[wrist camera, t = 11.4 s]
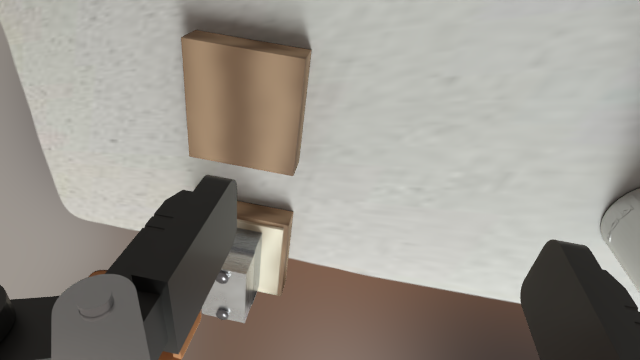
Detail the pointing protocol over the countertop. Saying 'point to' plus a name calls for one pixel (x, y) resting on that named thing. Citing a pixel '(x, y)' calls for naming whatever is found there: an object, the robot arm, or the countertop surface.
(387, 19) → the countertop surface
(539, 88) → the countertop surface
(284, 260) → the stand
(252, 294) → the block
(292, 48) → the stand
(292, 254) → the countertop surface
